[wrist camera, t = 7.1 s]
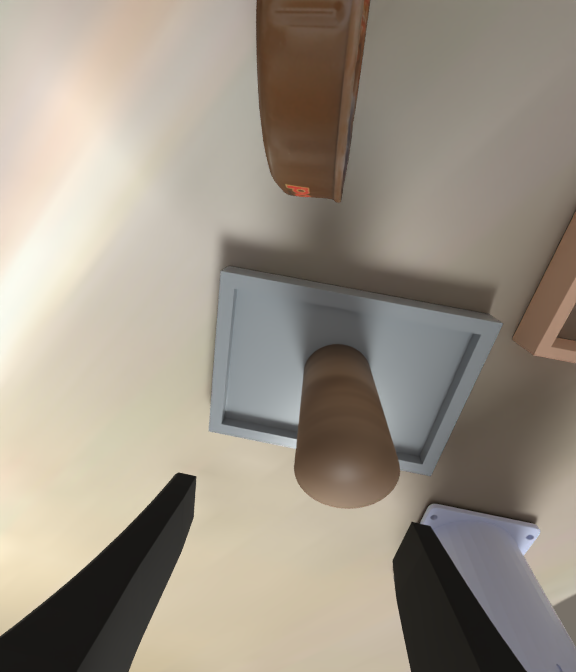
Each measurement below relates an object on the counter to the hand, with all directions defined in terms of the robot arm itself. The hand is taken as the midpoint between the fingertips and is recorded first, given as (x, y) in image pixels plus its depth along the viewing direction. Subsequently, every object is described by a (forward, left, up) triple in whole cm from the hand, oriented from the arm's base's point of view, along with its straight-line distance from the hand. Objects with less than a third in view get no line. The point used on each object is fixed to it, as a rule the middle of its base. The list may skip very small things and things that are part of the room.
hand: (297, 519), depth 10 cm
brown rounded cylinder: (0, -2, -10) cm, 10 cm away
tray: (0, -2, -10) cm, 10 cm away
